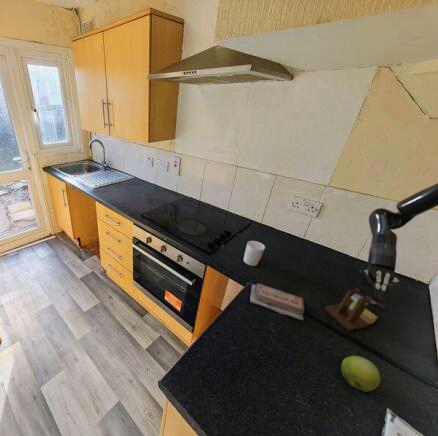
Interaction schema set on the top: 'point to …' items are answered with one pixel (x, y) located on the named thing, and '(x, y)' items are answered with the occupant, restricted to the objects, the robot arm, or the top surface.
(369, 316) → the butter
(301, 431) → the top surface
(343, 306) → the brown pronged stand
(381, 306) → the grey t-shaped tool
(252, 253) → the white cup
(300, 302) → the packaged product
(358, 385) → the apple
